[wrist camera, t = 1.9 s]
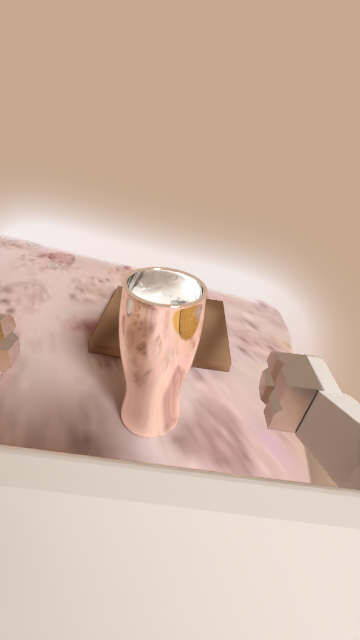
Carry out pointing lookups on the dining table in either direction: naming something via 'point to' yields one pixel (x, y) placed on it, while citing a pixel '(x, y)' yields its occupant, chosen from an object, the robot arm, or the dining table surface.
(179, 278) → the beer glass
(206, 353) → the walnut board
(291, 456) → the dining table surface
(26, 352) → the dining table surface
